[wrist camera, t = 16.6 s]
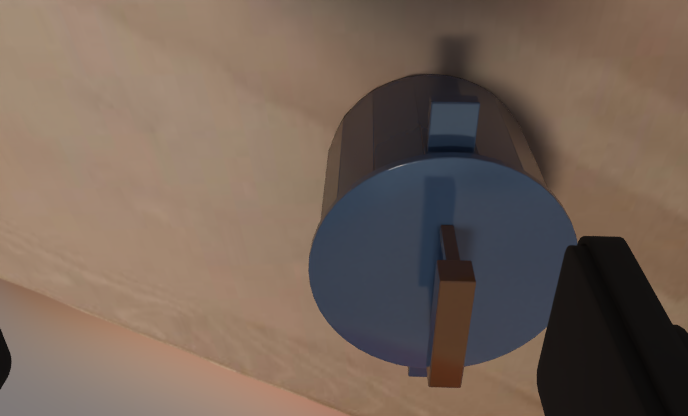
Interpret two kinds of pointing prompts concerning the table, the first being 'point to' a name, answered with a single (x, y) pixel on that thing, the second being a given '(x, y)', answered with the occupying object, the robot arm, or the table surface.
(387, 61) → the table surface
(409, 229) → the lid
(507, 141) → the crock
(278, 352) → the table surface
